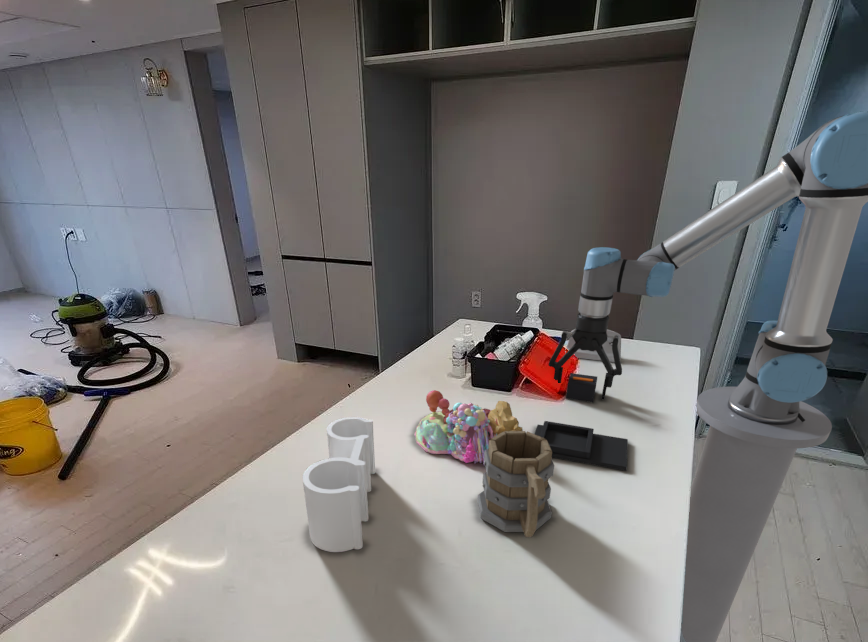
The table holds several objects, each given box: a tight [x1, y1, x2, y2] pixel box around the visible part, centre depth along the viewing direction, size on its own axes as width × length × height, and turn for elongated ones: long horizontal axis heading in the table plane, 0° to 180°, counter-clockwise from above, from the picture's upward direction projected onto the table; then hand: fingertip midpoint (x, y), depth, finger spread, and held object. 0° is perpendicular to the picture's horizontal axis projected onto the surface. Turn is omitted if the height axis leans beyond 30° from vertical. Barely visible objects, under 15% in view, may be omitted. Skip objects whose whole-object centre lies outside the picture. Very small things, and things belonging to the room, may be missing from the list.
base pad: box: [534, 420, 629, 472], centre depth 112 cm, size 20×12×2 cm, turn 69°
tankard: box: [477, 430, 555, 538], centre depth 87 cm, size 20×13×15 cm, turn 1°
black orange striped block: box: [565, 372, 598, 403], centre depth 135 cm, size 7×7×5 cm
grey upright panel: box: [565, 328, 622, 363], centre depth 159 cm, size 17×5×10 cm, turn 70°
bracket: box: [302, 416, 376, 553], centre depth 92 cm, size 25×10×12 cm, turn 177°
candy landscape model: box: [414, 389, 523, 466], centre depth 114 cm, size 25×24×9 cm
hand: (580, 394), depth 136 cm, fingers open, 11 cm apart
